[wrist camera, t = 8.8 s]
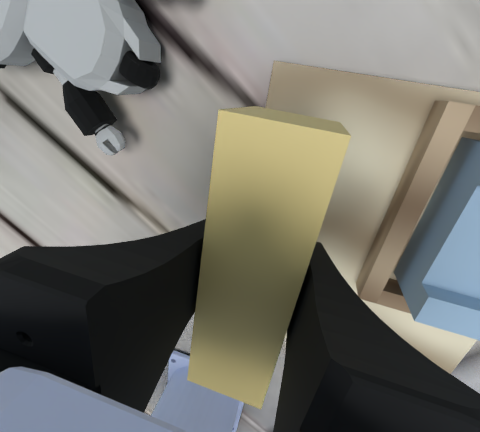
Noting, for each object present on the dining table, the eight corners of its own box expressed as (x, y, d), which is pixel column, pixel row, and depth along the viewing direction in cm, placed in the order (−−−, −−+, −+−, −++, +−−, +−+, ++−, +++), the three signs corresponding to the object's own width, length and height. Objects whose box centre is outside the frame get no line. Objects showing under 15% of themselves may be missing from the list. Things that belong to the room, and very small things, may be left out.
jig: (432, 376, 20) (447, 411, 17) (230, 310, 22) (220, 333, 20) (625, 116, 12) (696, 121, 9) (276, 63, 14) (268, 56, 12)
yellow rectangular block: (276, 328, 14) (260, 409, 10) (220, 309, 14) (187, 379, 11) (339, 121, 9) (351, 135, 6) (255, 106, 10) (218, 109, 6)
